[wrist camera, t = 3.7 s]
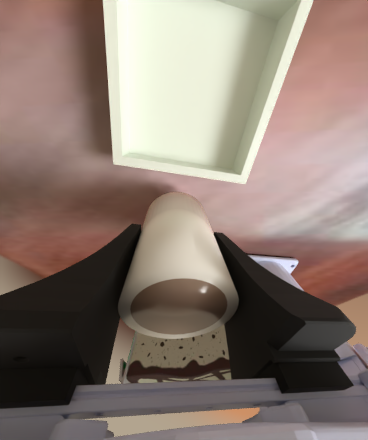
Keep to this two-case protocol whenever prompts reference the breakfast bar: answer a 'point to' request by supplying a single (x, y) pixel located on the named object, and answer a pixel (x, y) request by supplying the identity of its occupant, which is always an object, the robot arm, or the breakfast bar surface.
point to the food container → (177, 359)
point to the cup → (177, 274)
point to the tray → (196, 80)
